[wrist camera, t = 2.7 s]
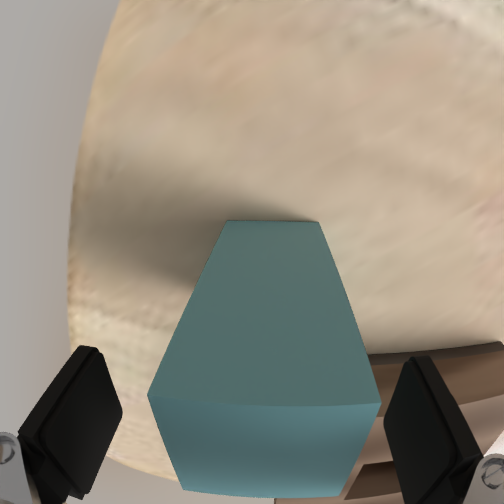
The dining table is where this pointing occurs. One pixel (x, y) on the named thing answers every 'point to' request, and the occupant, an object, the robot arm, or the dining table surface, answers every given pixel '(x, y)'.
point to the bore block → (466, 395)
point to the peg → (266, 370)
